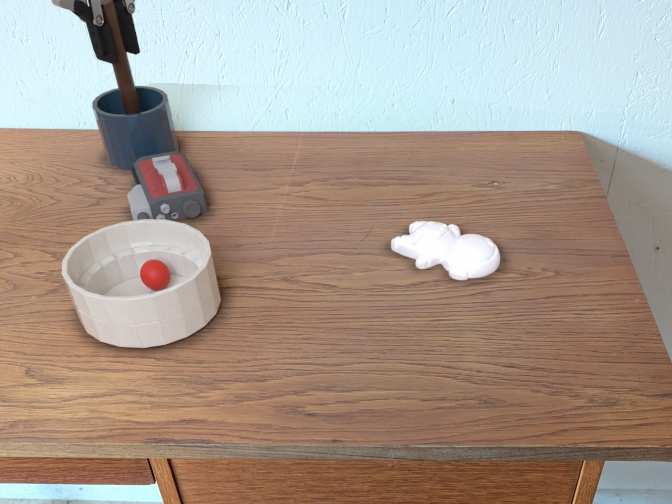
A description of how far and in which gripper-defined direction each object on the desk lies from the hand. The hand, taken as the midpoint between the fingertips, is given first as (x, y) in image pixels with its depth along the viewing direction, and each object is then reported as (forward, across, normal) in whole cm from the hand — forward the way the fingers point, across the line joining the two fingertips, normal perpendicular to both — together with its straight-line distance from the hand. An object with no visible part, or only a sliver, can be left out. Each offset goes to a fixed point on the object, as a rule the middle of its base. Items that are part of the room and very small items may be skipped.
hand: (118, 54), depth 86 cm
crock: (+12, 0, 0) cm, 12 cm away
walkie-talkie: (+12, +9, +13) cm, 20 cm away
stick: (+12, 0, 0) cm, 12 cm away
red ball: (+10, +21, +24) cm, 33 cm away
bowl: (+12, +24, +25) cm, 37 cm away
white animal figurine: (+12, -2, +45) cm, 47 cm away
